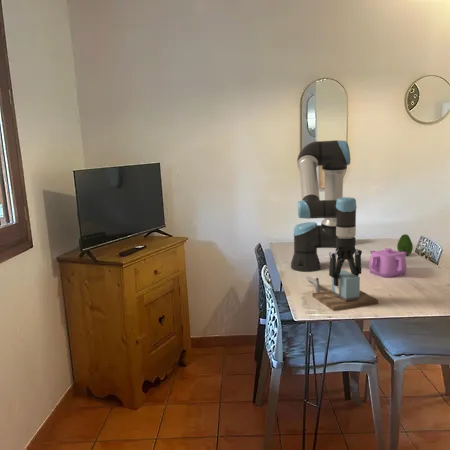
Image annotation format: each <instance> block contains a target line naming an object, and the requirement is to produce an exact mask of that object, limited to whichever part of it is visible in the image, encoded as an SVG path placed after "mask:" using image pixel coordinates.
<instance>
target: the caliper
mask: <svg viewBox="0 0 450 450" xmlns="http://www.w3.org/2000/svg"><path fill="white" fill-rule="evenodd" d="M306 280H307V281H308V282H311V283H312V285H313V286H314V287H315V291H316V293H317V292H320V280H319V277H315V278H312V277H310V276H306Z"/></svg>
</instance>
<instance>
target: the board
mask: <svg viewBox="0 0 450 450" xmlns="http://www.w3.org/2000/svg"><path fill="white" fill-rule="evenodd" d="M311 295H312V297H313V298H314V299H316V301H319V302H320V303H321V304H322V305H324V306H326V307H328V308H329V309H330V310H332V311H340V310H346V309H354V308H360V307H365V306H372V305H378V304H379V299H377V298H375V297H373V296H371V295H370V294H368V293H367V292H364V291H362V290H360V293H359V299H356V300H349V301H345V300H344V299H342V298H340V297H339V296H337V295H335V294H334V293H332V289H331V290H326V291H319V292H317V291H316V292H313V293H312V294H311Z"/></svg>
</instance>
